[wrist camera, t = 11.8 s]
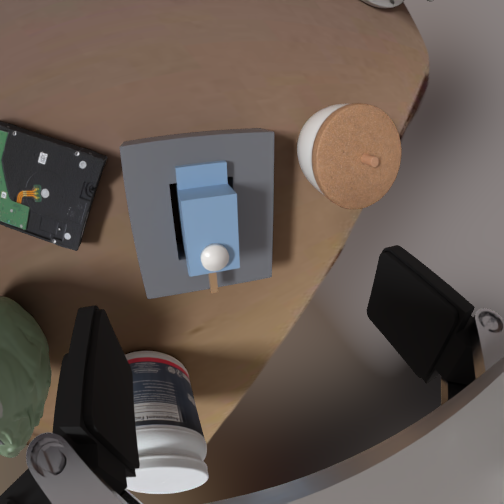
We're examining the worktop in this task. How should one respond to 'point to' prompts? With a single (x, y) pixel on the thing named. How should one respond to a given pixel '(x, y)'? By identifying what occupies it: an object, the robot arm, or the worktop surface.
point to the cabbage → (21, 376)
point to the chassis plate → (160, 209)
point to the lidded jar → (350, 153)
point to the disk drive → (46, 185)
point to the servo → (207, 219)
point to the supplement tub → (165, 426)
